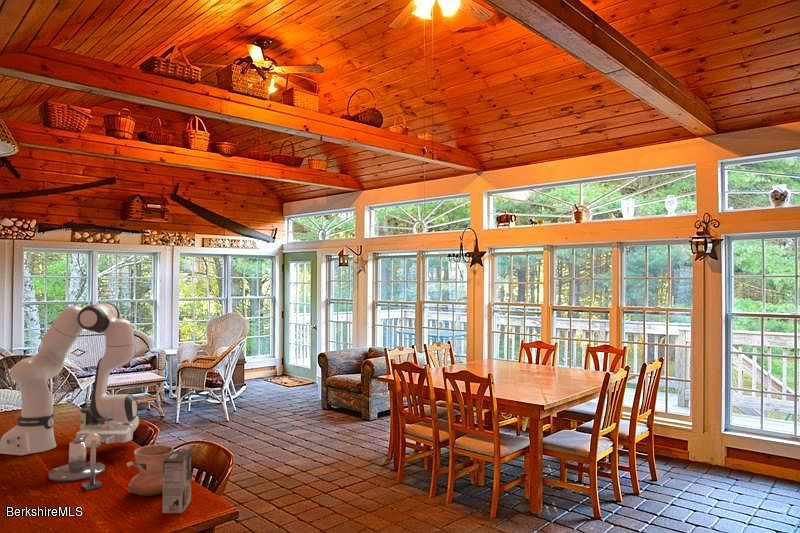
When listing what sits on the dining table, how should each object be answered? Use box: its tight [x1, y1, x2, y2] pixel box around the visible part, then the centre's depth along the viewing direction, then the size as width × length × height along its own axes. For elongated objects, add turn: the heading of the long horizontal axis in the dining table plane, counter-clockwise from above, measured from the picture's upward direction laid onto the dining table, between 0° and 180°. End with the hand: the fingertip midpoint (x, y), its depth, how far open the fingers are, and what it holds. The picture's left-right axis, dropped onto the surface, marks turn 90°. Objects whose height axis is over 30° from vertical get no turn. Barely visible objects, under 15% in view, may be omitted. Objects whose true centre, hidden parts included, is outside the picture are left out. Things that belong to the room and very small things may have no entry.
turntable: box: [48, 461, 106, 483], centre depth 206 cm, size 18×18×1 cm
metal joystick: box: [81, 433, 103, 491], centre depth 193 cm, size 5×5×18 cm
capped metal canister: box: [68, 437, 87, 472], centre depth 206 cm, size 6×6×12 cm
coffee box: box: [161, 451, 192, 514], centre depth 177 cm, size 9×6×16 cm
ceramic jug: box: [126, 444, 175, 497], centre depth 190 cm, size 18×14×14 cm
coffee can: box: [79, 406, 107, 431], centre depth 248 cm, size 10×10×14 cm
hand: (92, 441), depth 216 cm, fingers open, 8 cm apart
